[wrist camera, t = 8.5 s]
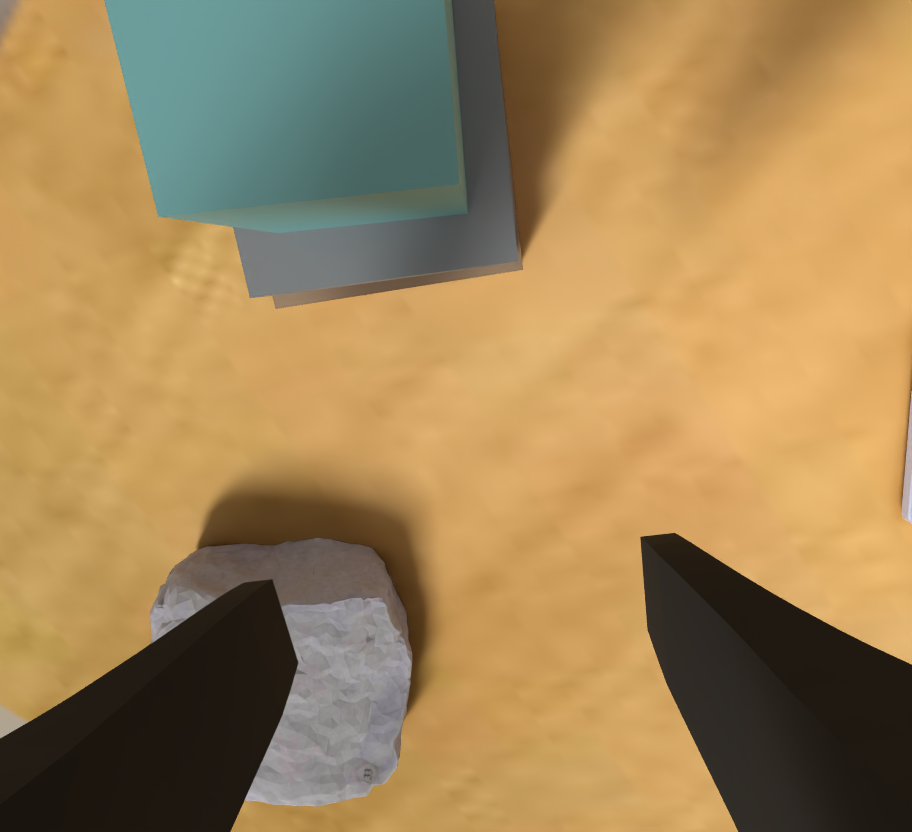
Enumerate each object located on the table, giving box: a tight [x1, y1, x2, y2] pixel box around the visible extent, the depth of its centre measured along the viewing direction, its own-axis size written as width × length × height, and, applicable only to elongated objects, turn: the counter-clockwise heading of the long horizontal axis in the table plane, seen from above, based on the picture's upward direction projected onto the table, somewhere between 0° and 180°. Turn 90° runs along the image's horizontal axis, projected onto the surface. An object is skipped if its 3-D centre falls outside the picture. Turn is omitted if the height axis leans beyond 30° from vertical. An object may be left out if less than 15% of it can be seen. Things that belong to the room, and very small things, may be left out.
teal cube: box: [104, 0, 468, 233], centre depth 9 cm, size 5×5×5 cm
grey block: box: [233, 0, 518, 298], centre depth 13 cm, size 7×7×3 cm
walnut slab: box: [273, 49, 523, 309], centre depth 16 cm, size 8×8×3 cm
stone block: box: [150, 537, 412, 806], centre depth 22 cm, size 12×5×10 cm
